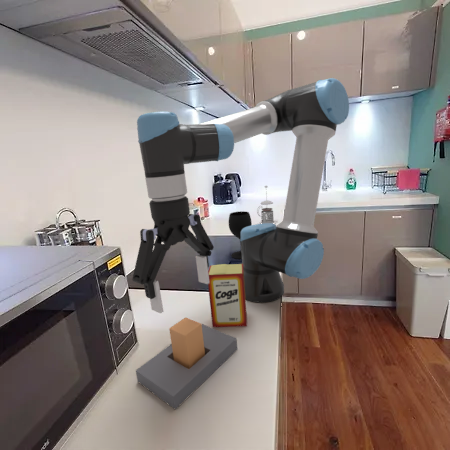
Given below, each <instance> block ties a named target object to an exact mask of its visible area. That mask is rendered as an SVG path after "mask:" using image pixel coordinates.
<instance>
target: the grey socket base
mask: <svg viewBox="0 0 450 450" xmlns="http://www.w3.org/2000/svg"><path fill="white" fill-rule="evenodd" d="M201 324H202V333H203V341H204V350H205V356H204V357H202V358H201V359H200V360H199V361H198V362H197V363H196V364H194V365H193V366H192V367H191V368H190V369H187V368H186V367H184V366H182V365H180V364H179V363H177V362H175V361H174V357H173V350H172V343H171V344H169V345H168V346H166V347H165V348H164V349H163V350H161V351H160V352H159V353H157V354H155V356H153V357H151V358H150V359H149V360H147V361H146V362H145V363H144V364H142V365H140V367H138V368H137V369H135V376H136V379H137V383H138V382H140V383H141V384H142V385H144V386H145V387H146V388H148V389H149V390H150V391H149V390H148V389H147V390H148V391H149V392H151V391H152V392H153V393H154V394H153V393H152V392H151V393H152V394H153V395H155V396H156V395H157V396H158V397H157V396H156V397H157V398H159V399H160V398H161V399H162V400H161V399H160V400H161V401H163V402H164V401H165V402H164V403H166V404H167V403H168V404H169V405H168V404H167V405H168V406H169V407H171V406H172V407H173V408H172V409H174V408H175V409H176V408H177V407H178V406H179V405H180V404H181V403H182V402H183V401H184V400H185V399H186V398H187V397H188V396H189V395H190V394H191V393H192V392H193V391H194V390H195V389H196V388H197V387H198V386H199V387H200V386H201V385H202V384H203V383H205V382H206V381H207V380H208V378H210V377H211V375H212V374H214V373H215V372H216V370H218V369H219V367H221V366H222V365H223V364H224V363H225V362H226V361H227V360H228V359H229V358H230V357H231V356H232V355H233V354H234V353H235V352H236V351H237V350H238V342H237V341H238V340H237V337H234V336H233V335H229V334H227V333H225V332H222V331H220V330H217V329H215V328H214V327H210V326H207V325H205V324H203V323H201ZM140 383H139V384H140ZM141 384H140V385H141ZM142 385H141V386H142ZM144 386H143V387H144ZM145 387H144V388H145ZM199 387H198V388H199ZM146 388H145V389H146ZM198 388H197V389H198ZM197 389H196V390H197ZM196 390H195V391H196ZM195 391H194V392H195ZM194 392H193V393H194ZM193 393H192V394H193ZM192 394H191V395H192ZM191 395H190V396H191ZM190 396H189V397H190ZM189 397H188V398H189ZM188 398H187V399H188ZM187 399H186V400H187ZM186 400H185V401H186ZM185 401H184V402H185ZM184 402H183V403H184ZM183 403H182V404H183ZM182 404H181V405H182ZM181 405H180V406H181ZM180 406H179V407H180ZM179 407H178V408H179ZM178 408H177V409H178ZM175 409H174V410H175ZM177 409H176V410H177Z"/></svg>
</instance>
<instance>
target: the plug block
mask: <svg viewBox="0 0 450 450" xmlns="http://www.w3.org/2000/svg"><path fill="white" fill-rule="evenodd" d="M202 324H203V323H201V322H198V321H196V320H194V319H191V318H188V317H184V318H182V319H181V320H180V321H178V322H177V323H175V324H173V326H171V327H169V328H168V329H169V335H170V343H171V344H172V350H173V357H174V361H175V362H177V363H179V364H180V365H182V366H184V367H186V368H187V369H190V368H191V367H192V366H193V365H194V364H196V363H197V362H198V361H199V360H200V359H201V358H202V357H204V356H205V350H204V341H203V333H202Z"/></svg>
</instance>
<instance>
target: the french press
mask: <svg viewBox="0 0 450 450" xmlns="http://www.w3.org/2000/svg"><path fill="white" fill-rule="evenodd" d="M264 188H265V189H267V188H269V187H268V185H264ZM267 194H268V193H267V192H265V195H266V200H263V201H261V202H260V204H261V205H259V206H258V208H257V210H256V212H257V214H258V216H259V217H260V218H261V222H260V224H261V223H262V224H264V223H274V222H275V220H274V210H273V208H272V207H265V208H263V207H262V208H261V206H263V205H264V206H268V205H272V204H274V202H273V201H272V200H268V198H267V197H268V196H267ZM260 209H261V212H260V213H261V214H260V213H259V211H260Z"/></svg>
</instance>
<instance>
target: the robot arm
mask: <svg viewBox="0 0 450 450" xmlns="http://www.w3.org/2000/svg"><path fill="white" fill-rule="evenodd" d="M349 101H350V99H349V95H348V94H347V90H346V87H345V86H344V85H343V83H342V82H341V81H340V80H339V79H337V78H334V77H330V78H326V79H319V80H317V81H315V82H312V83H308V84H304V85H301V86H298V87H294V88H291V89H288V90H286V91H283V92H281V93H279V94H276V95H275V96H273V97H270V98H268V99H265V100H262V101H259V102H258V103H256V105H255V107H252V108H248V109H244V110H241V111H238V112H235V113H231V114H228V115H225V116H222V117H218V118H214V119H211V120H208V121H205V122H201V123H198V124H182V123H180V120H179V118H178V116H177V113H175V112H172V111H153V112H152V111H151V112H146V113H143V114H141V115H140V116H138V118H137V121H136V126H137V128H136V129H137V138H138V141H137V142H138V144H139V148H140V149H139V150H140V154H141V159H142V165H143V170H144V177H145V183H146V184H145V185H146V189H147V196H148V198H149V199H151V200H150V201H149V209H150V214H151V215H150V216H151V219H152V220H153V222H154V223H153V225H154V226H153V228H148V229H147V228H142V229H141V230H140V232H139V233H140V234H139V235H140V244H139V248H138V253H137V258H136V262H135V266H134V271H133V275H132V281H133V282H134V283H136V284H140V285H143V288H144V293H145V296H146V298H147V299H149V301H150V306H151V307H150V308H151V310H152V311H154V312H156V313H159V314H162V313H164V307H163V301H162V294H161V289H160V283H159V280H157V279H156V278H157V275H158V273H159V270H160V268H161V265H162V263H163V261H164V258H165V257H166V254H167V251H169V250H170V248H171V247H172V246H175V245H176V244H178V243H182V242H185V243H186V244H188V246H190V248H192V250H194V251H195V252H196V253H197V255H195V263H196V269H197V278H198V283H202V284H205V285H208V284H209V274H208V270H209V267H210V263H209V257H210V256H212V251H213V250H214V244H213V242H212V241H211V239H210V237H209V235H208V233H207V231H206V230H205V227H204V226H203V224H202V221H201V220H202V219H201V217H200V214H194V213H191V211H190V210H191V209H190V201H189V198H188V196H186V195H187V193H188V186H187V180H186V173H185V165H188V164H189V165H190V164H197V163H199V164H200V163H208V162H219V161H222V160H226V159H229V158H230V157H231V156H232V154H233V153H234V152H233V151H234V148H235V144H236V143H239V142H241V141H244V140H247V139H250V138H253V137H255V136H258V135H266V136H268V135H271V134H275V133H281V132H291V131H292V134H293V135H294V136H295V139H296V140H295V145H294V150H293V157H292V158H293V159H292V163H291V167H290V168H291V169H290V175H289V183H288V187H287V192H286V193H287V194H286V198H285V199H286V200H285V205H284V210H283V211H284V213H283V219H282V220H281V222H280V223H278V224H277V225H276V223H275V224H273V223H264V224H261V223H257V224H252V225H251V226H248V227H245V228H243V229H242V231H241V240H239V242H240V241H241V245H240V251H241V253H242V259H241V264H243V270H244V284H245V298H246V301H248V302H249V301H250V302H253V303H254V302H255V303H268V302H273V301H276V300H279V299H280V298H281V297H282V296H284V294H285V283H284V282H283V278H282V277H281V274H280V273H282V274H283V275H286V276H288V277H293V278H297V279H300V280H303V279H308V278H310V277H312V276H313V275H314V274H315V273H316V272H317V271H318V269H319V268H320V266H321V264H322V262H323V259H324V255H325V254H324V252H325V249H324V244H323V243H322V241H320V240H319V238H318V235H319V231H318V230H317V229H316V228H315V226H314V225H315V219H316V213H317V209H318V208H317V207H318V202H319V196H320V190H321V186H322V185H321V184H322V179H323V173H324V166H325V160H326V156H327V155H326V154H327V150H328V143H329V140H330V139H332V138H333V137H334V136H335V135H336V131H337V126H338V125H341V124H342V123H344V122H346V120H347V118H348V116H349V112H350V102H349ZM190 229H191V230H192V231H193V232H192V231H191V230H190Z"/></svg>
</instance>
